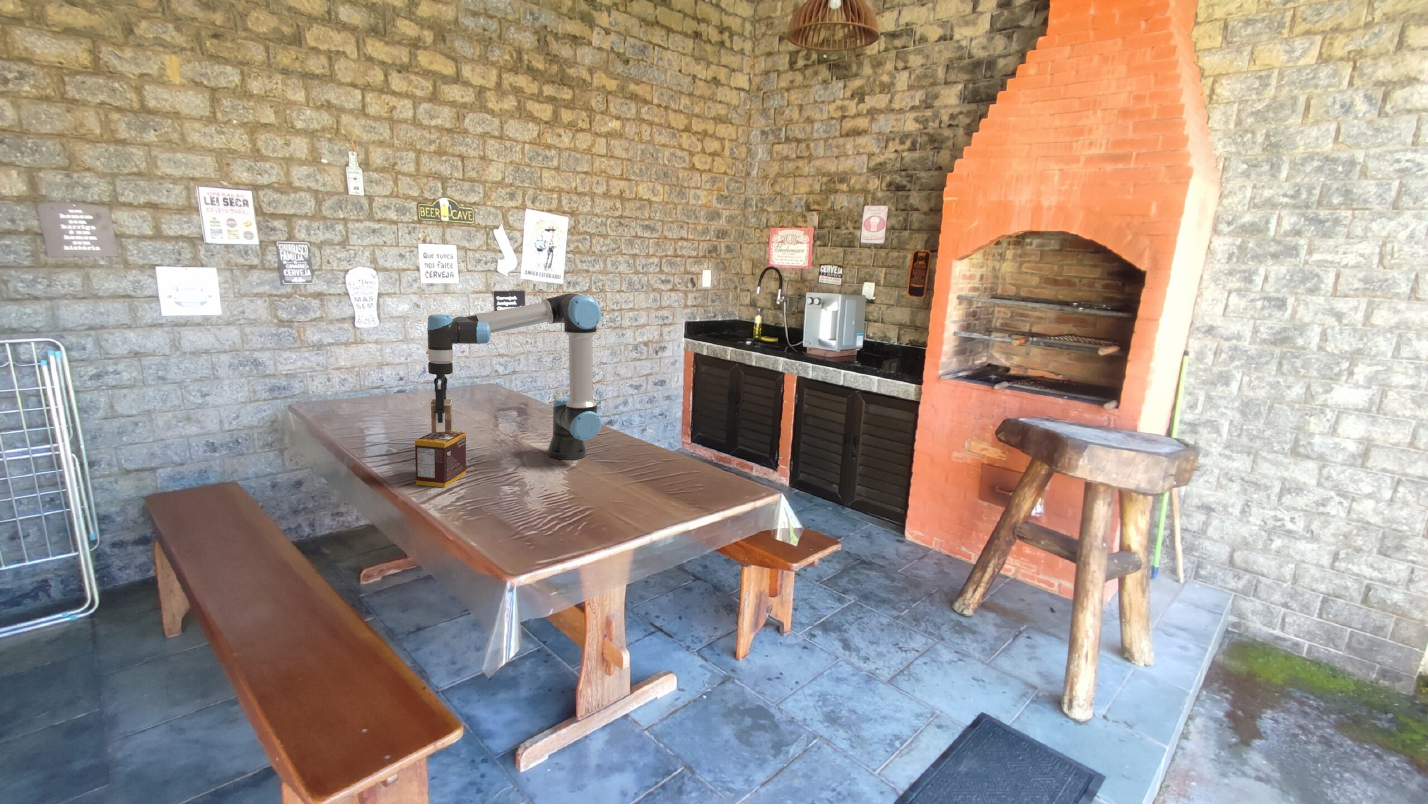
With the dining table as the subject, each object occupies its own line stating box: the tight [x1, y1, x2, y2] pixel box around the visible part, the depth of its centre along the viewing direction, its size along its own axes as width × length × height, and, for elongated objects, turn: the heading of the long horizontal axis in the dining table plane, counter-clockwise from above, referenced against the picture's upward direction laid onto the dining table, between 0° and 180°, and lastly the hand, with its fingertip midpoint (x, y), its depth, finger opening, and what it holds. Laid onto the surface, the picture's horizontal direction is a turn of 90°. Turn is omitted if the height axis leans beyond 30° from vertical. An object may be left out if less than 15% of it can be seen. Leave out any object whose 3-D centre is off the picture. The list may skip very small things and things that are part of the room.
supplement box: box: [414, 430, 467, 489], centre depth 224 cm, size 10×15×16 cm
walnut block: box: [430, 398, 453, 433], centre depth 221 cm, size 6×6×10 cm
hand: (441, 429), depth 222 cm, fingers closed on walnut block, 6 cm apart
